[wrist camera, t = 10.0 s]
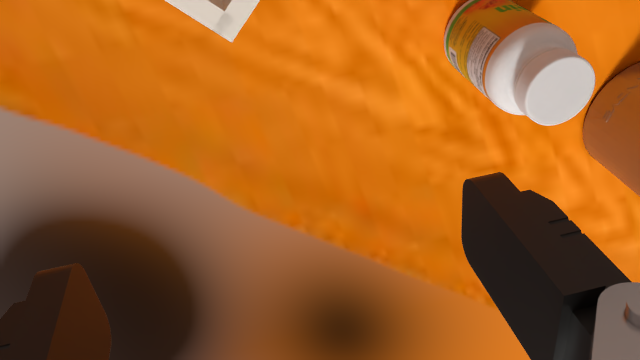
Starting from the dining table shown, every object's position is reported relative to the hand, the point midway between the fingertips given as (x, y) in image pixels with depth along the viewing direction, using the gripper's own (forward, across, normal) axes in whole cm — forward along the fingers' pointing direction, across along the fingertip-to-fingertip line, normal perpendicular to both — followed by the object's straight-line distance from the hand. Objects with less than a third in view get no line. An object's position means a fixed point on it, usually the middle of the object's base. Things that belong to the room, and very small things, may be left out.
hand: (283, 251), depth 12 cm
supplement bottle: (+25, -16, +6) cm, 30 cm away
